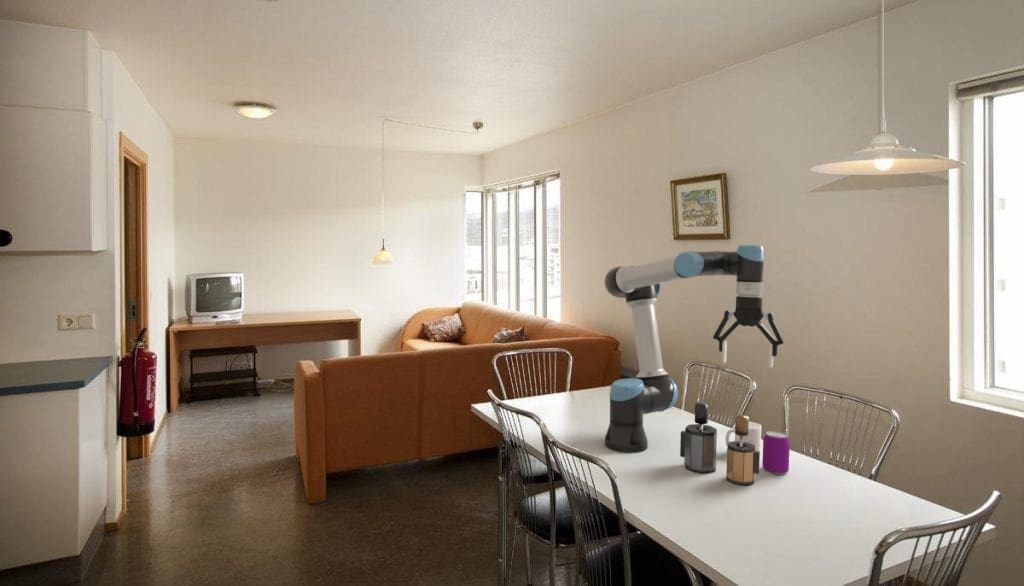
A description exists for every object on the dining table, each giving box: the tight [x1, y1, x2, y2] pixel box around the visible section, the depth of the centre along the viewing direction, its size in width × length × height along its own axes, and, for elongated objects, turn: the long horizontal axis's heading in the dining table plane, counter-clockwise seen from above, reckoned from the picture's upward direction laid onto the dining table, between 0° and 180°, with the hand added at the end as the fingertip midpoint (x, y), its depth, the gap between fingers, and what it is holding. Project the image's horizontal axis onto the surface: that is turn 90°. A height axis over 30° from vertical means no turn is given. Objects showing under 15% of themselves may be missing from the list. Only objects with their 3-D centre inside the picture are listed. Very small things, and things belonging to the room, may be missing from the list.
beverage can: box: [761, 430, 791, 476], centre depth 188 cm, size 8×8×12 cm
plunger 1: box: [694, 401, 709, 430], centre depth 190 cm, size 7×7×18 cm
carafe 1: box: [679, 423, 718, 475], centre depth 191 cm, size 11×10×13 cm
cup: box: [725, 421, 762, 453], centre depth 204 cm, size 8×12×10 cm
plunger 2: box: [734, 413, 750, 447], centre depth 180 cm, size 5×5×18 cm
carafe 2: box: [725, 440, 761, 487], centre depth 180 cm, size 9×8×11 cm
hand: (747, 364), depth 183 cm, fingers open, 13 cm apart
